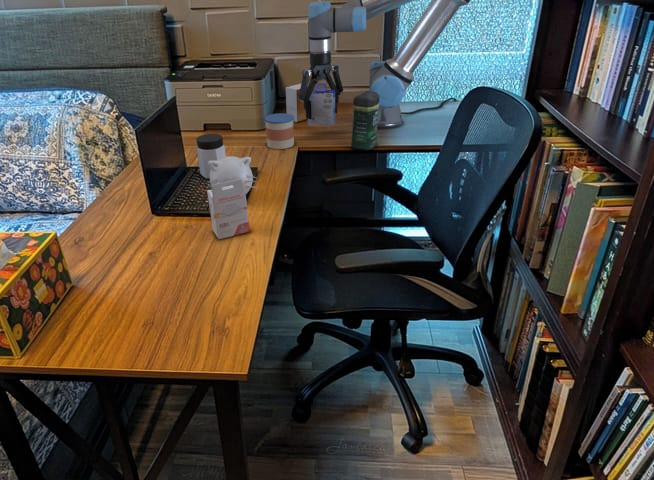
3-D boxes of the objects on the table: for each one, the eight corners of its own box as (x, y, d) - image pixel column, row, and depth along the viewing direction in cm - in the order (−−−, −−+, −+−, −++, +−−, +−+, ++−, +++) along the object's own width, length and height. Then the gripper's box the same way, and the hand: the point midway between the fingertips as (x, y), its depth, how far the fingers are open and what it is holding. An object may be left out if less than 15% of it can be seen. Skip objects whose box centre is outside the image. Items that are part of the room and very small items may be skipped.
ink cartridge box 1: (243, 224, 132) (238, 171, 124) (250, 232, 128) (244, 178, 120) (212, 231, 129) (204, 178, 121) (218, 240, 125) (210, 185, 117)
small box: (297, 122, 203) (296, 89, 196) (286, 119, 207) (285, 87, 200) (311, 117, 208) (310, 85, 201) (300, 115, 212) (299, 83, 205)
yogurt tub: (286, 137, 188) (285, 111, 183) (300, 145, 180) (299, 118, 175) (261, 143, 184) (259, 116, 179) (274, 151, 177) (273, 123, 171)
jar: (229, 168, 165) (225, 132, 158) (226, 178, 158) (222, 141, 151) (202, 169, 165) (197, 133, 159) (198, 179, 158) (192, 142, 152)
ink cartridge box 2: (335, 122, 189) (335, 82, 181) (334, 126, 185) (333, 86, 177) (310, 122, 191) (308, 82, 183) (307, 126, 187) (306, 86, 179)
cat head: (256, 185, 152) (252, 146, 146) (261, 203, 141) (258, 162, 135) (206, 191, 150) (201, 152, 144) (208, 209, 140) (202, 168, 133)
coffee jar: (369, 152, 171) (372, 97, 161) (348, 149, 175) (349, 95, 165) (380, 144, 178) (383, 90, 168) (359, 141, 182) (361, 88, 171)
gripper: (341, 45, 181) (341, 107, 193) (286, 55, 172) (290, 119, 185) (353, 48, 175) (352, 111, 188) (297, 58, 167) (300, 123, 179)
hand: (321, 115), depth 186 cm, fingers closed on ink cartridge box 2, 10 cm apart
